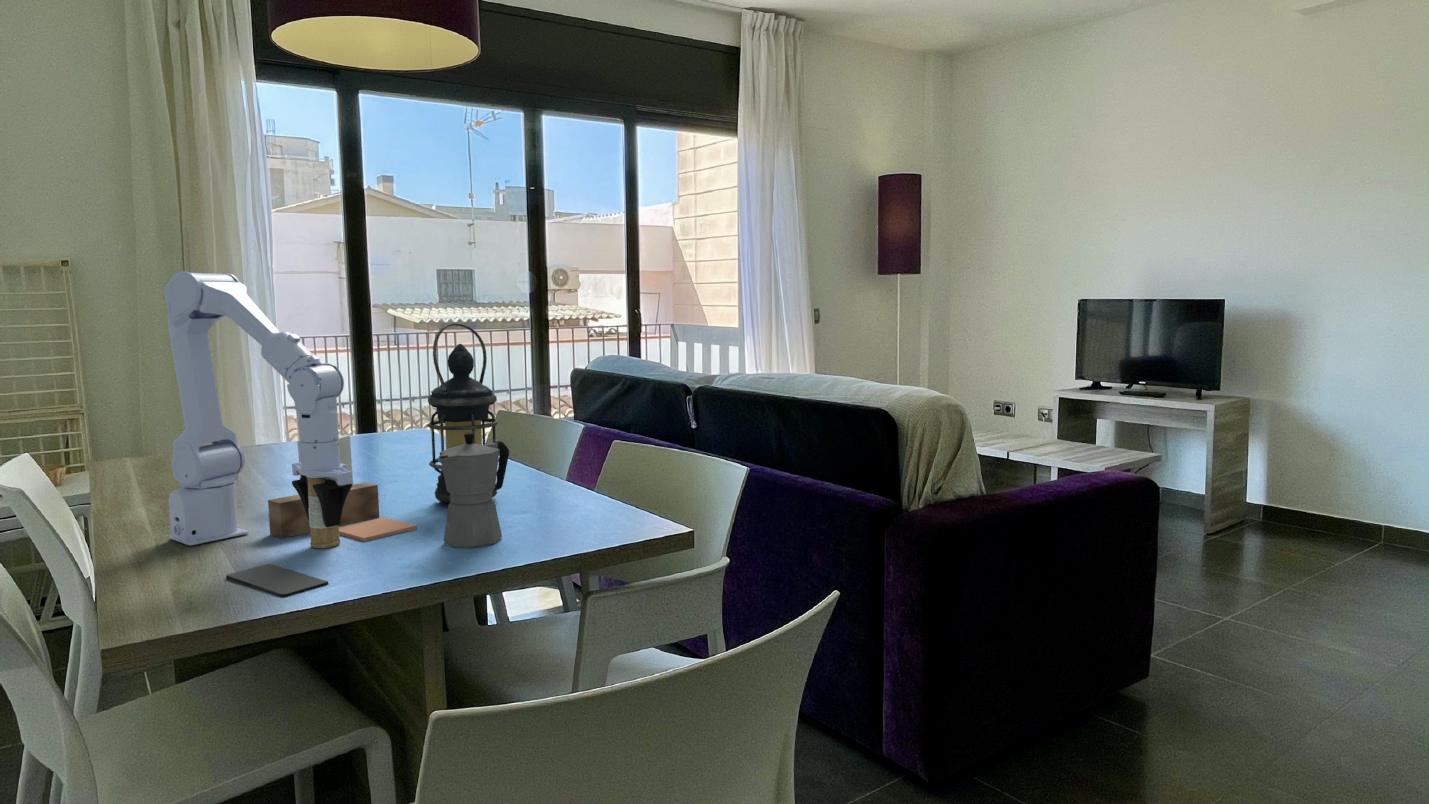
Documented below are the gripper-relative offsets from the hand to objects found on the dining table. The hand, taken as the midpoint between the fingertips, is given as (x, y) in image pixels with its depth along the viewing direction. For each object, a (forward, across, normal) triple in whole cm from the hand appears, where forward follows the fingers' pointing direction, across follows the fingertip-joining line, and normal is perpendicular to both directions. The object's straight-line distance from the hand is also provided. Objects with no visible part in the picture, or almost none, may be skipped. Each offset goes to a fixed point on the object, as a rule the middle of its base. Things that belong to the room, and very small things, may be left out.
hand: (324, 523), depth 143 cm
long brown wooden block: (+4, +12, -7) cm, 14 cm away
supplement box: (+4, +31, -18) cm, 36 cm away
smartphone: (+4, -12, +14) cm, 19 cm away
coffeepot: (+4, -17, -17) cm, 24 cm away
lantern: (+4, +7, -33) cm, 34 cm away
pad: (+4, +2, -10) cm, 11 cm away
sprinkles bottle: (+4, 0, 0) cm, 4 cm away
